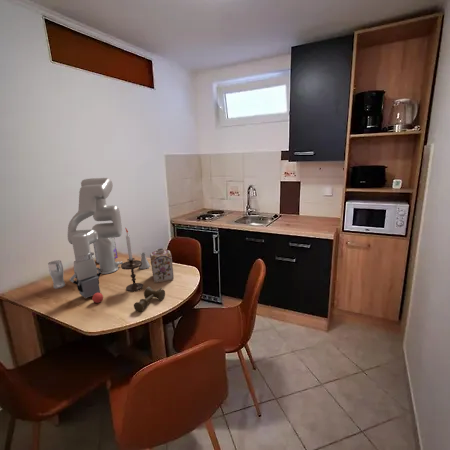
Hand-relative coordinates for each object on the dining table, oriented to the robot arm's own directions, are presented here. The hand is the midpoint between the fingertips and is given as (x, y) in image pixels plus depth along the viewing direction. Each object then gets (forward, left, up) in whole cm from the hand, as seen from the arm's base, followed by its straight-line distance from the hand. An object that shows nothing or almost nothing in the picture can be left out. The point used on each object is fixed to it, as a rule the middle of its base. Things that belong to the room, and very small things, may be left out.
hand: (89, 288), depth 146 cm
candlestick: (-20, +11, -5) cm, 23 cm away
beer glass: (+7, -27, -5) cm, 28 cm away
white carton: (-30, -47, -5) cm, 56 cm away
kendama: (-17, +32, -5) cm, 37 cm away
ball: (0, +11, -2) cm, 11 cm away
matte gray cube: (0, 0, -3) cm, 3 cm away
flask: (-40, -12, -5) cm, 42 cm away
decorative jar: (-38, +12, -5) cm, 40 cm away
